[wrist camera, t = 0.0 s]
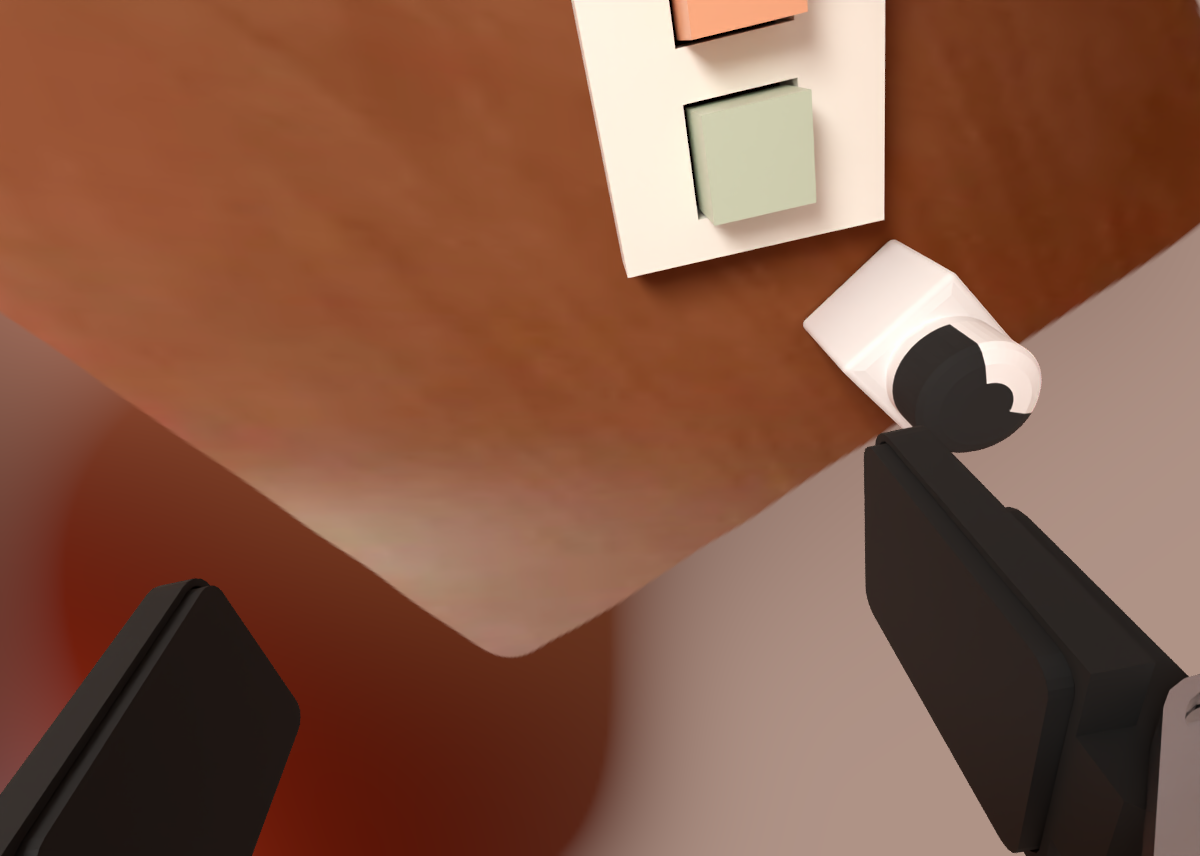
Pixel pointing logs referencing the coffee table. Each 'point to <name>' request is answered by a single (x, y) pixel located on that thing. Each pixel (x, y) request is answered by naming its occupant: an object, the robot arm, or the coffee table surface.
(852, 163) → the key board
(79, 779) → the robot arm
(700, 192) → the key sage
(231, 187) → the coffee table surface
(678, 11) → the key terracotta
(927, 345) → the medicine bottle
